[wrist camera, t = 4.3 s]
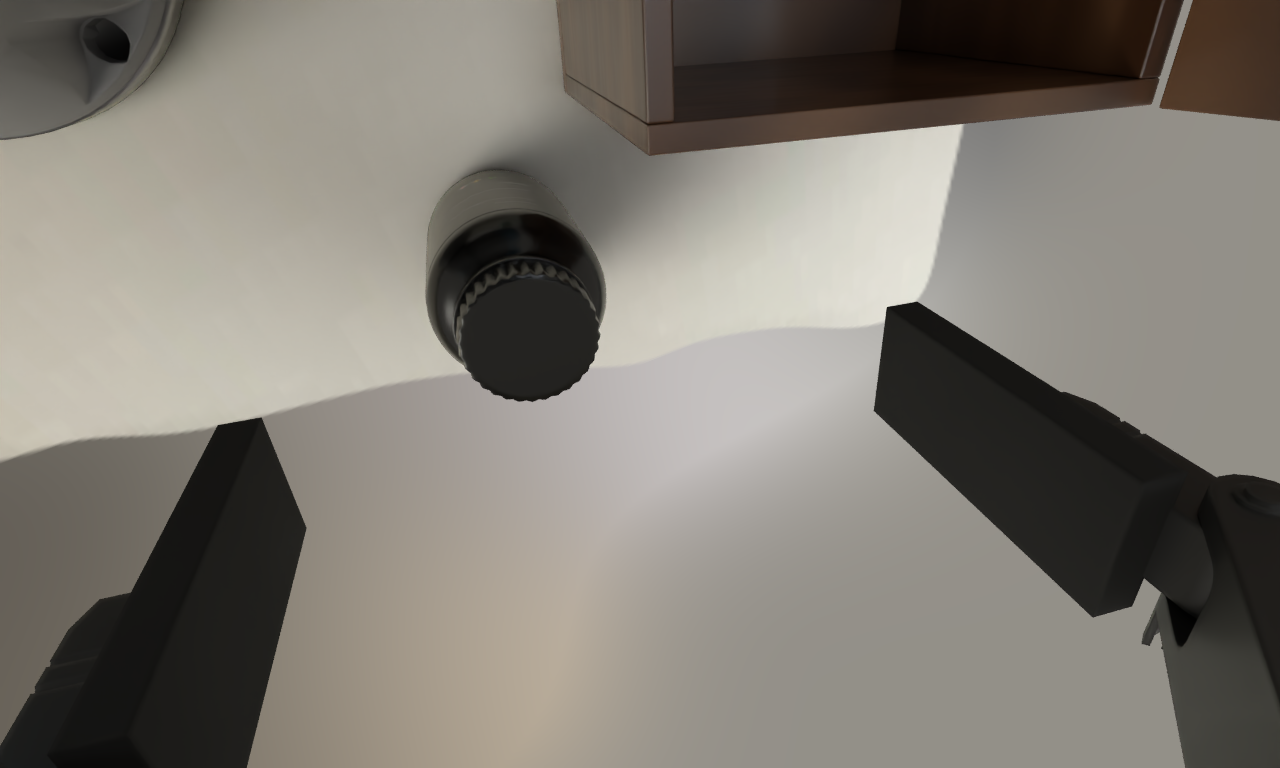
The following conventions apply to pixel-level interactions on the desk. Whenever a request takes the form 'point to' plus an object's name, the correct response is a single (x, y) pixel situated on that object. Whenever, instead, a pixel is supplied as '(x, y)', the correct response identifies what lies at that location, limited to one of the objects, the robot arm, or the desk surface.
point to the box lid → (1228, 60)
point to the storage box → (851, 64)
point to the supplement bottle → (513, 286)
